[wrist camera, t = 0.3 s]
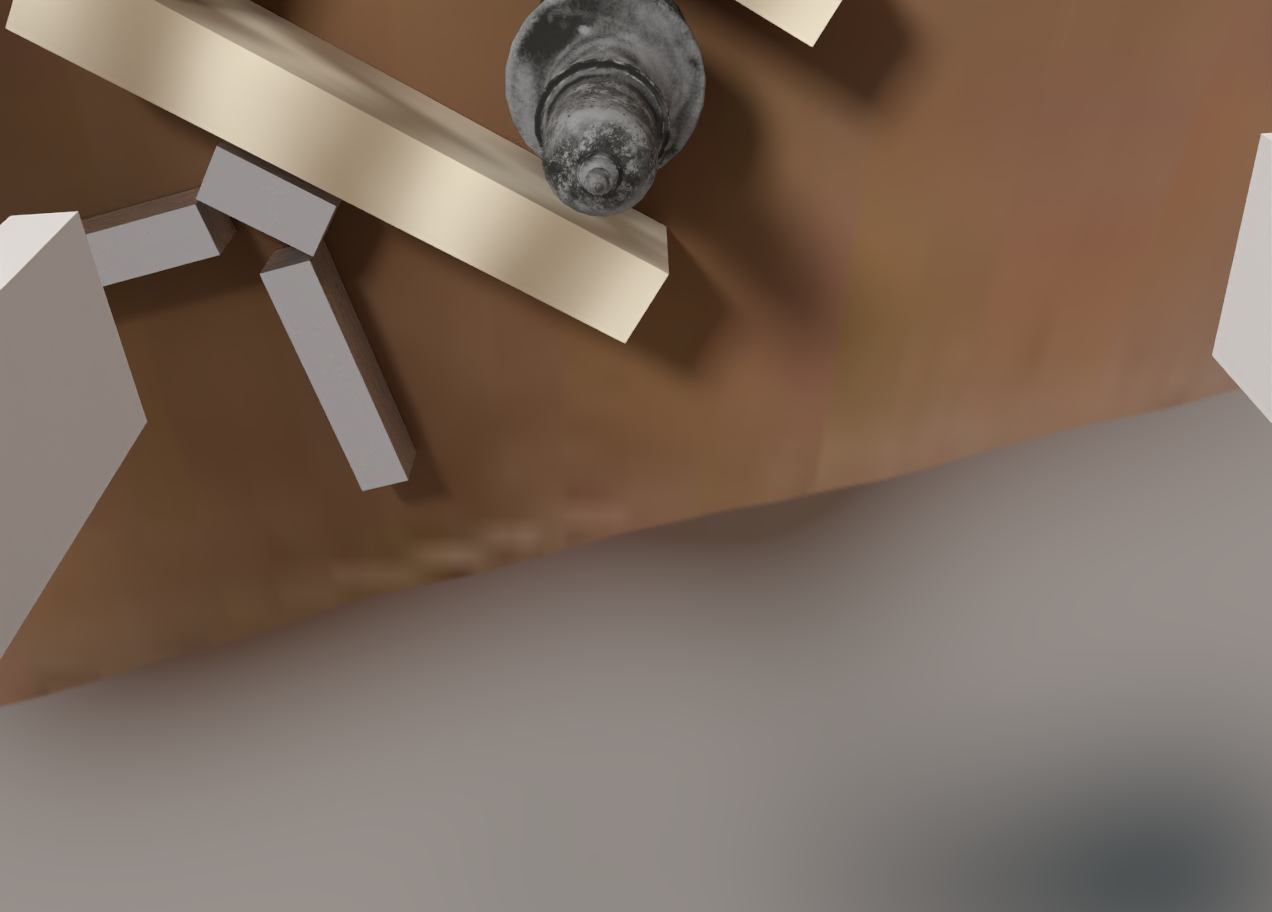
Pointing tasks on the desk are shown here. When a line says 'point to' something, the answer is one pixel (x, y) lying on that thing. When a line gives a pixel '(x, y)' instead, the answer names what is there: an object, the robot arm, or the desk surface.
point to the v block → (273, 289)
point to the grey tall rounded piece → (604, 96)
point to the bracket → (376, 139)
